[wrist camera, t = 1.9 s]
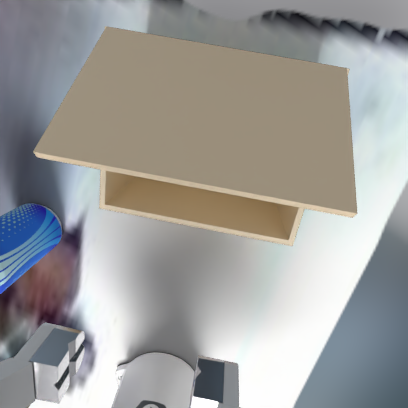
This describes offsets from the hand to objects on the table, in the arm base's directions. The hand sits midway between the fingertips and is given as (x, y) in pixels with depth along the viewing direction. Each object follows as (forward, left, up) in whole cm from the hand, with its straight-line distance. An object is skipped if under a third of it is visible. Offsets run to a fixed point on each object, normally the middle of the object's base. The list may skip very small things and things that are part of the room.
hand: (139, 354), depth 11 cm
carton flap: (+8, 0, -15) cm, 17 cm away
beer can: (-16, +26, -33) cm, 45 cm away
